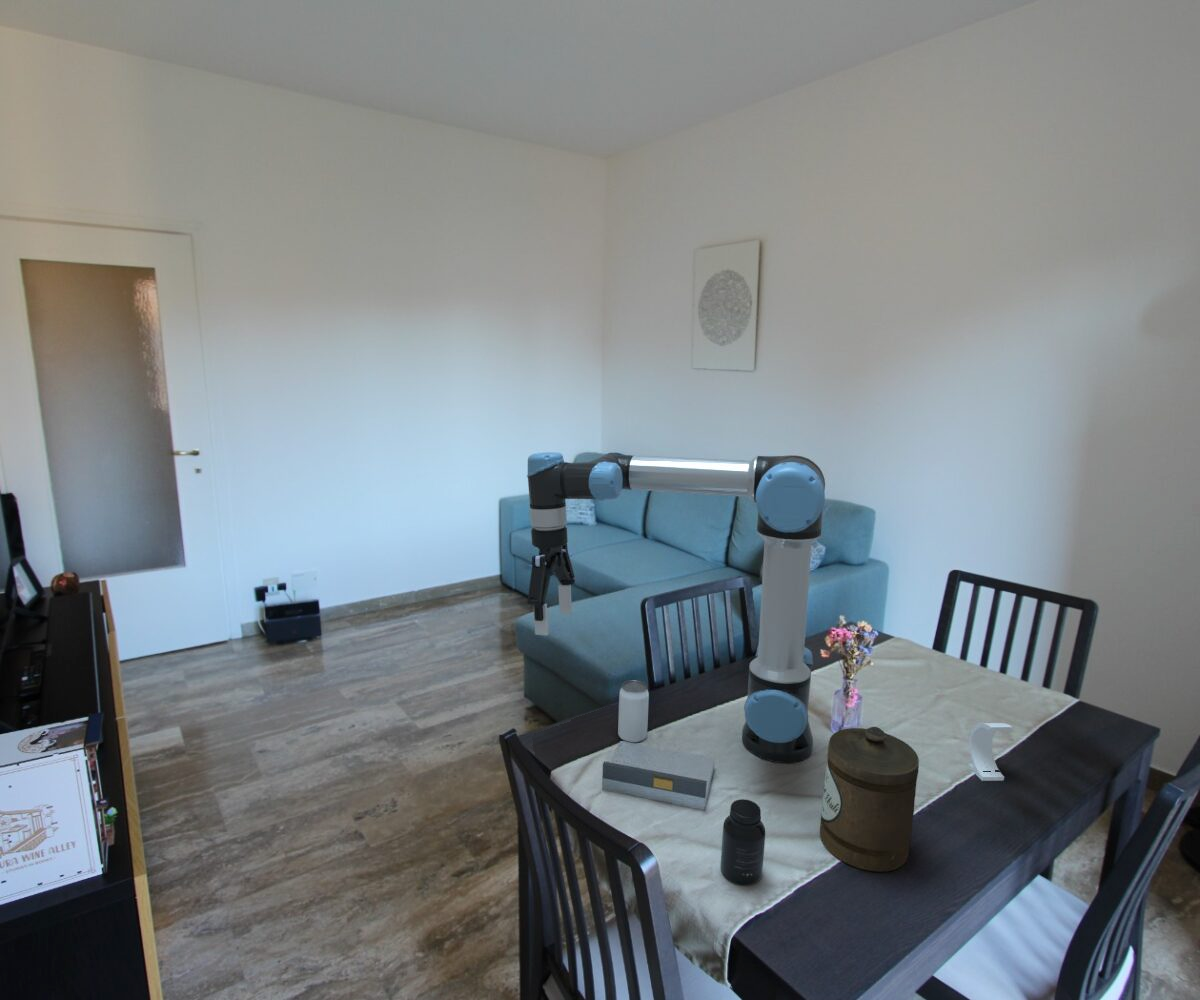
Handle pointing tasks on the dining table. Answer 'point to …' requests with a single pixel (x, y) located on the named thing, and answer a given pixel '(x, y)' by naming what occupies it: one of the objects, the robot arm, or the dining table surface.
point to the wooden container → (869, 798)
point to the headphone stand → (985, 750)
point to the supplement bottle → (743, 843)
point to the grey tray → (659, 774)
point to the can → (633, 711)
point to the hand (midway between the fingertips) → (554, 623)
